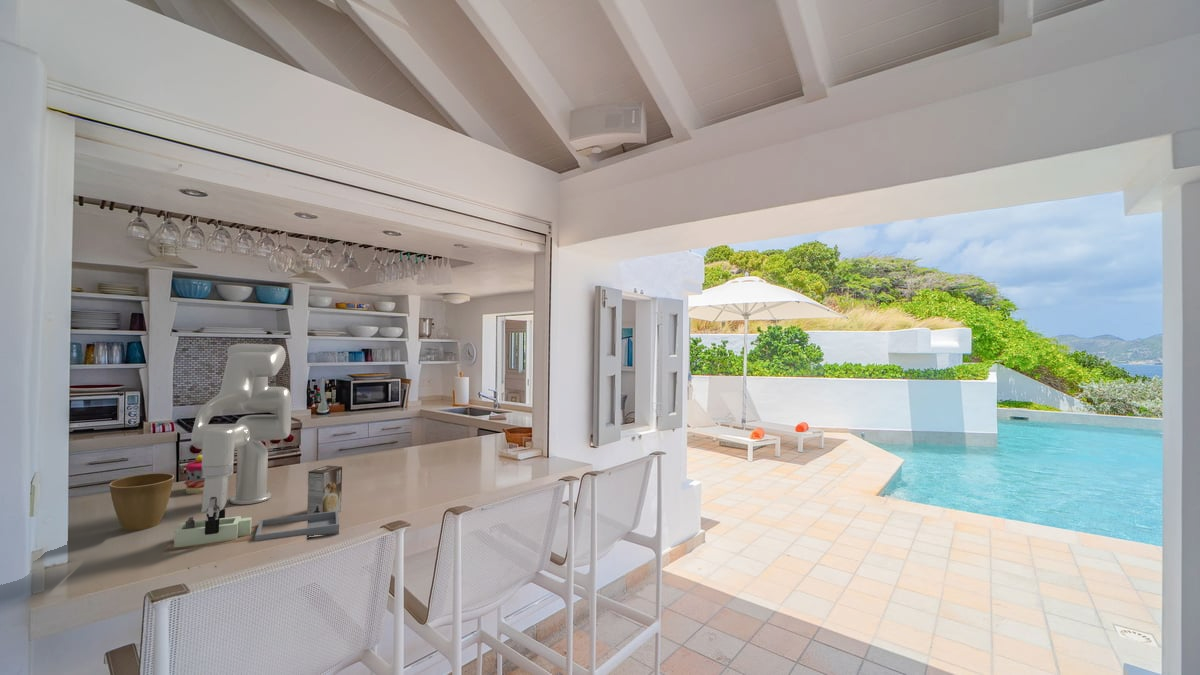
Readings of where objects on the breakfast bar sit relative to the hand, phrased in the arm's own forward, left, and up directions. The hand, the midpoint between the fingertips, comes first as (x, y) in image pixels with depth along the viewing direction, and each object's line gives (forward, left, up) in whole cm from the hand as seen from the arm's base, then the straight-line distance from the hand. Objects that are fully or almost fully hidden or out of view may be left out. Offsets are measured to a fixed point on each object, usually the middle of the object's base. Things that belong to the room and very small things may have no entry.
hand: (215, 528), depth 148 cm
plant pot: (-20, -21, -5) cm, 30 cm away
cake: (-62, -13, -5) cm, 64 cm away
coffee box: (-14, +29, -5) cm, 32 cm away
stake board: (0, 0, -5) cm, 5 cm away
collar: (0, 0, -3) cm, 3 cm away
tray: (0, +22, -5) cm, 22 cm away
